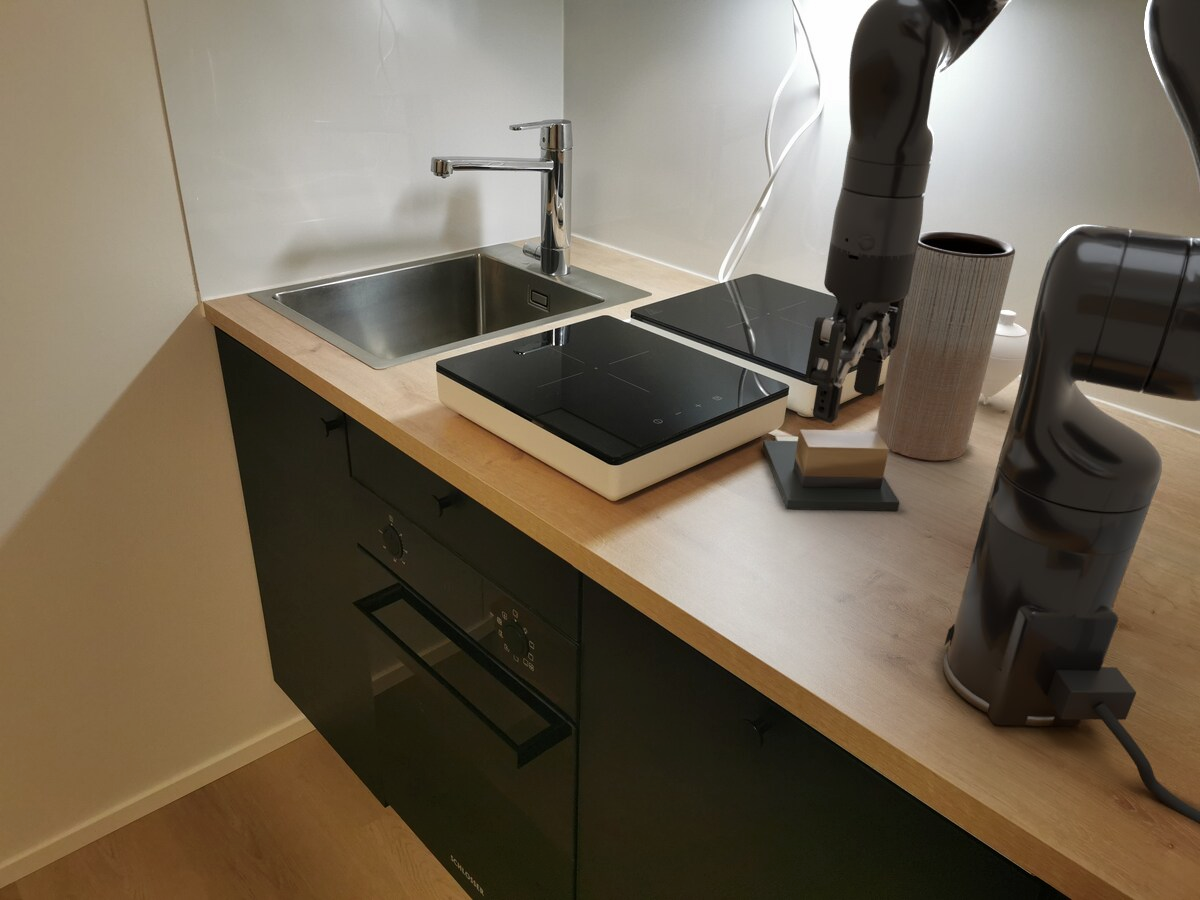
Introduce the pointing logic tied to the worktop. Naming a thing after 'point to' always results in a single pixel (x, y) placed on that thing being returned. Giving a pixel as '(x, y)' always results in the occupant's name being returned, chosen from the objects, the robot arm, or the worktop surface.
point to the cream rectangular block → (786, 438)
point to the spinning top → (1005, 355)
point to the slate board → (821, 497)
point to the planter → (943, 344)
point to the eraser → (840, 459)
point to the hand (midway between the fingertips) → (845, 406)
